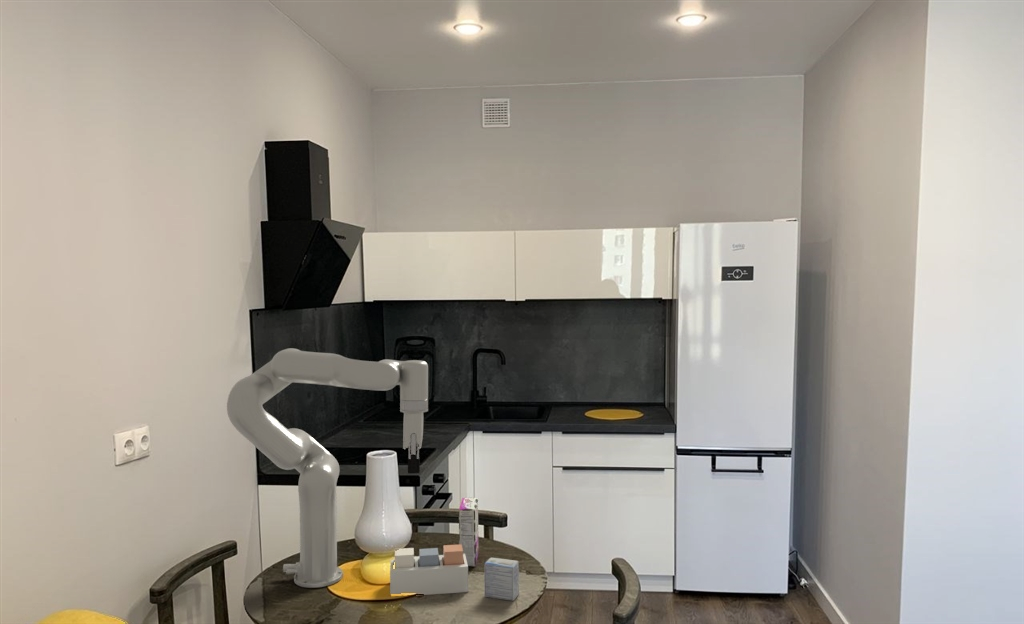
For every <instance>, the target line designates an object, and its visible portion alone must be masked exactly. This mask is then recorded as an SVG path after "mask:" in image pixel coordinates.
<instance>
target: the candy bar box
mask: <svg viewBox="0 0 1024 624" xmlns="http://www.w3.org/2000/svg"><path fill="white" fill-rule="evenodd" d="M458 538H459V539H458V540H459V541H458V545H459V544H462V548H463V554H465V556H466V560H467V564H468V568H469V567H471V568H472V567H473V568H474V567H476V566H477V562H478V556H479V552H480V551H479V550H480V549H479V498H478V497H462V499H461V502H460V504H459V507H458Z"/></svg>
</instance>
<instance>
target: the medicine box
mask: <svg viewBox="0 0 1024 624" xmlns="http://www.w3.org/2000/svg"><path fill="white" fill-rule="evenodd" d="M483 564H484V566H483V567H484V568H483V569H484V581H483V582H484V598H492V599H499V600H506V601H512V602H514V601H515V600H516V598H517V597H518V596H519V594H520V578H519V577H520V574H519V573H520V571H519V569H520V567H519V564H520V562H519V561H518V560H514V559H513V560H512V559H508V558H507V559H506V558H499V557H492V556H491V557H490V558H488V559H487V560H486V561H485V563H483Z"/></svg>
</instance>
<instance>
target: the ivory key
mask: <svg viewBox="0 0 1024 624" xmlns="http://www.w3.org/2000/svg"><path fill="white" fill-rule="evenodd" d="M398 549H399V550H397V551H395V550H394V558H395V568H412V567H414V557H415V551H414V547H407V548H405V547H404V548H398Z"/></svg>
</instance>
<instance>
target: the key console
mask: <svg viewBox="0 0 1024 624" xmlns="http://www.w3.org/2000/svg"><path fill="white" fill-rule="evenodd" d="M394 562H395V559H393V560H391V559H390V568H389V569H390V570H389V575H390V576H389V592H390V593H389V595H391V594H401V593H418V594H424V596H428V595H442V594H443V595H445V594H455V593H456V594H459V593H469V567H468V564H467V560H466V556H465V554H463V564H460V565H444V566H443V554H439V566H428V567H419V555H418V556H416V555H414V567H412V568H395V569H393V565H394Z"/></svg>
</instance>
